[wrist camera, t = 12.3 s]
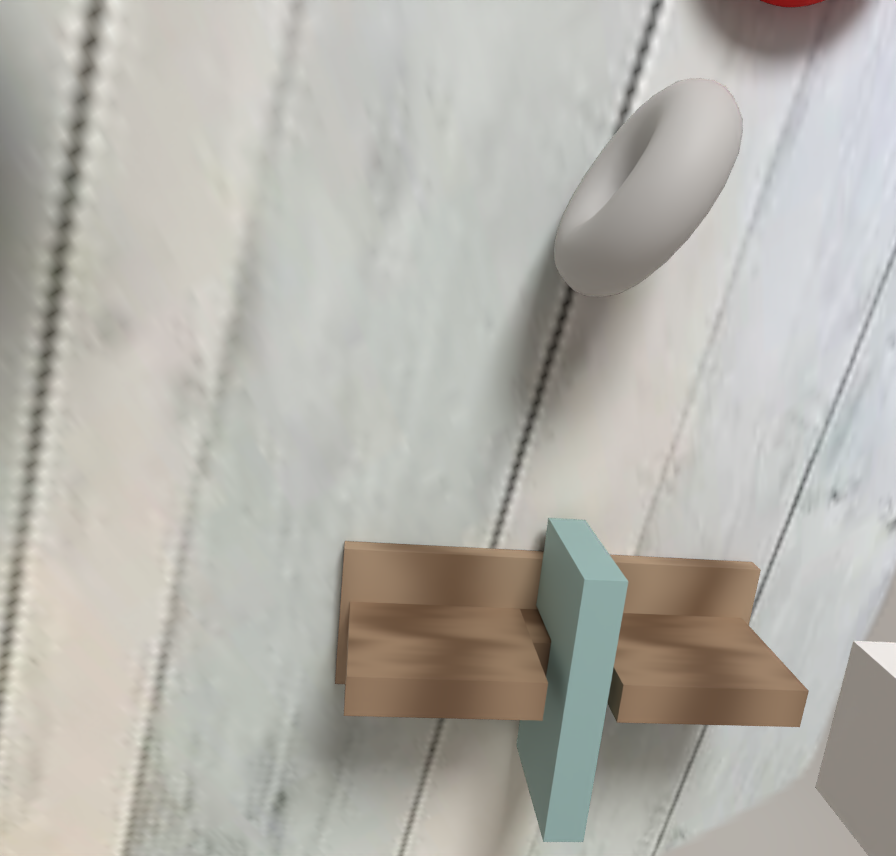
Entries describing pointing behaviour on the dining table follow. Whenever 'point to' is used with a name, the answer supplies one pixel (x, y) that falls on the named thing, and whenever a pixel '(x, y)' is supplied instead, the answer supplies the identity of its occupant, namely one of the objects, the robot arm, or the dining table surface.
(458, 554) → the jig
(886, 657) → the robot arm
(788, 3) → the decorative ornament
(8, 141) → the dining table surface
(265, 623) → the dining table surface
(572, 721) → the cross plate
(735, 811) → the dining table surface
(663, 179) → the donut
